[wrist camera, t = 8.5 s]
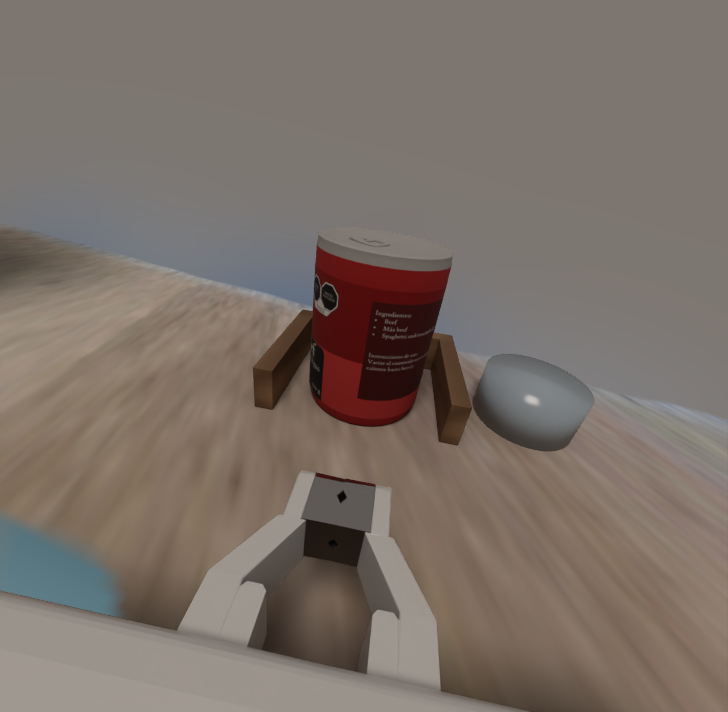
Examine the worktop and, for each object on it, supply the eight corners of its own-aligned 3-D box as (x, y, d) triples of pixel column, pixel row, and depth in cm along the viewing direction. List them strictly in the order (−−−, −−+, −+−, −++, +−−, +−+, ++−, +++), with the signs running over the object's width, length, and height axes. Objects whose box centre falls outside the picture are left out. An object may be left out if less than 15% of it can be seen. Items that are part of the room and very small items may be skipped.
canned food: (333, 356, 28) (346, 222, 22) (422, 383, 26) (460, 244, 20) (287, 405, 21) (289, 234, 16) (401, 445, 19) (448, 267, 14)
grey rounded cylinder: (481, 440, 21) (499, 399, 19) (466, 383, 27) (478, 347, 25) (588, 461, 21) (616, 421, 19) (548, 398, 27) (566, 363, 25)
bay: (254, 405, 21) (252, 367, 19) (301, 339, 29) (302, 309, 28) (457, 445, 20) (471, 408, 19) (443, 364, 29) (452, 335, 27)
